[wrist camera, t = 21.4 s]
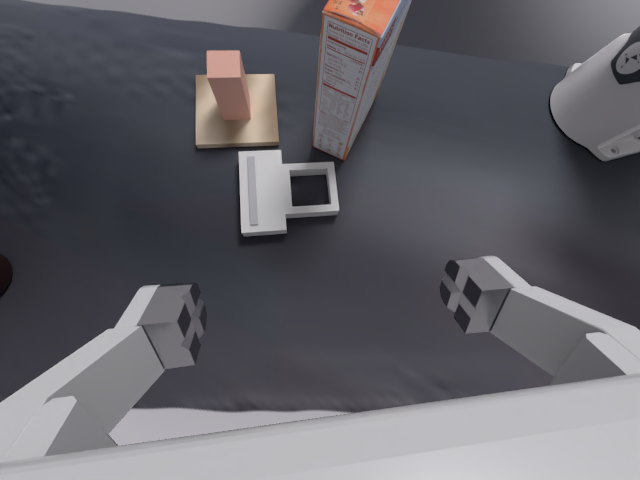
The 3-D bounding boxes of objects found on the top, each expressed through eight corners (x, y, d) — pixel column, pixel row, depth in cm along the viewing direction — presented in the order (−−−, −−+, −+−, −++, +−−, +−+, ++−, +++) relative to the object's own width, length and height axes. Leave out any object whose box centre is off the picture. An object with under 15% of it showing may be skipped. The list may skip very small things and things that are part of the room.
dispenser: (330, 154, 43) (332, 146, 41) (338, 229, 40) (341, 225, 38) (241, 158, 42) (238, 150, 39) (244, 236, 39) (240, 232, 37)
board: (274, 78, 45) (274, 74, 44) (279, 145, 42) (278, 141, 42) (198, 80, 44) (195, 75, 43) (198, 148, 41) (195, 144, 40)
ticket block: (249, 96, 43) (239, 50, 35) (250, 119, 42) (240, 77, 34) (223, 97, 42) (206, 50, 35) (223, 120, 42) (207, 77, 34)
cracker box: (345, 80, 46) (382, -96, 26) (377, 95, 46) (441, -70, 26) (308, 146, 43) (319, 5, 23) (343, 163, 43) (386, 35, 22)
